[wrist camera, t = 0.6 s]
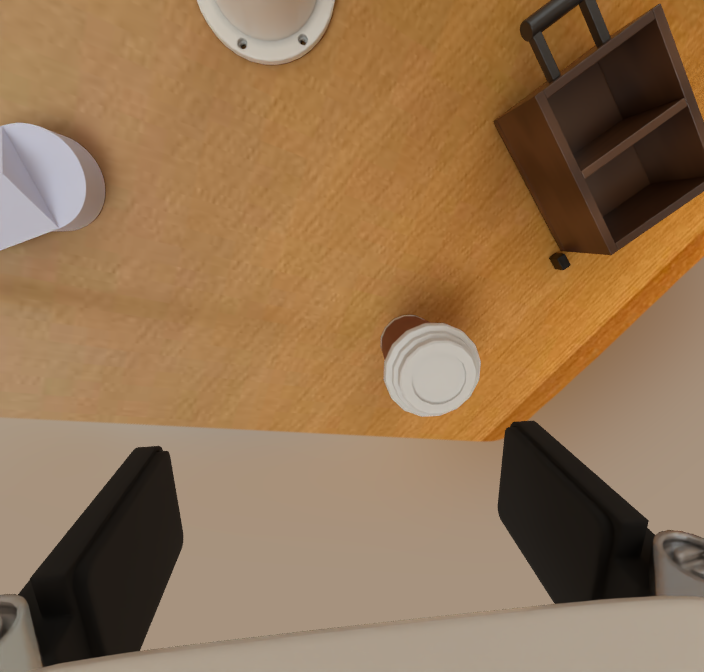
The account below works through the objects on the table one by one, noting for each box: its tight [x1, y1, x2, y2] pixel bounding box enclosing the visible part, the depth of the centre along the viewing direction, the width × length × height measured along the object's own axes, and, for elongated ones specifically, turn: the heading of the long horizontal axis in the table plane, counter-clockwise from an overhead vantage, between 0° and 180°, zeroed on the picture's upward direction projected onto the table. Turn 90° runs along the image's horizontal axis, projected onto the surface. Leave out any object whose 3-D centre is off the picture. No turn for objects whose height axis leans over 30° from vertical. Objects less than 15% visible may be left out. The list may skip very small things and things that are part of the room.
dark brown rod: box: [549, 253, 570, 270], centre depth 43 cm, size 2×15×2 cm, turn 126°
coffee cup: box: [381, 315, 481, 416], centre depth 40 cm, size 9×9×12 cm
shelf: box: [494, 0, 704, 255], centre depth 37 cm, size 21×12×8 cm, turn 36°
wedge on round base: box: [0, 123, 105, 250], centre depth 34 cm, size 9×7×13 cm
